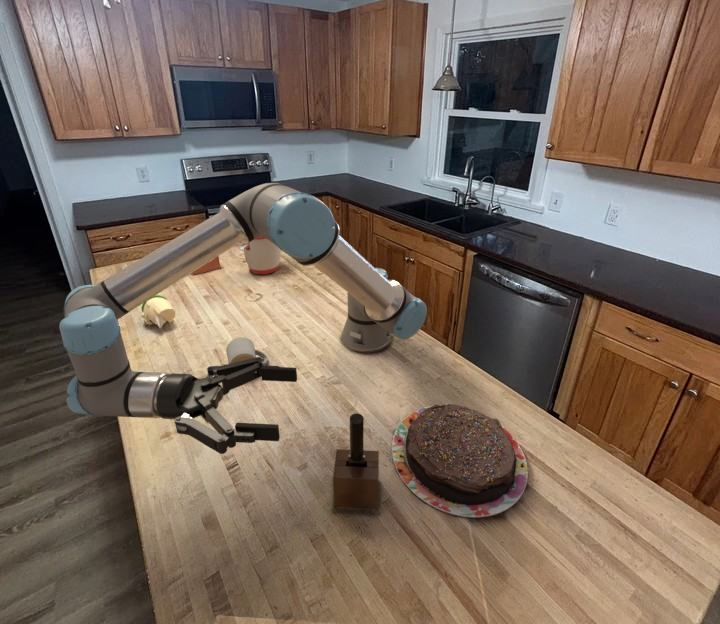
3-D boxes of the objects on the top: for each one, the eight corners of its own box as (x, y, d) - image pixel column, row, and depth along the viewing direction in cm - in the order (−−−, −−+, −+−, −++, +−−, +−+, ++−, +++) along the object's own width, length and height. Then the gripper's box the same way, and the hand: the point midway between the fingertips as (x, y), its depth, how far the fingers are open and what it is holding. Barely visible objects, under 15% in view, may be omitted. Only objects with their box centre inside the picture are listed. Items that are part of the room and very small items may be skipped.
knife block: (334, 510, 72) (332, 477, 68) (337, 481, 77) (336, 448, 73) (377, 513, 71) (378, 479, 68) (377, 483, 77) (378, 450, 73)
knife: (348, 498, 73) (347, 423, 65) (349, 486, 75) (348, 412, 67) (364, 499, 73) (365, 424, 65) (364, 487, 75) (365, 413, 67)
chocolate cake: (388, 406, 96) (389, 385, 93) (503, 409, 95) (507, 388, 92) (394, 519, 70) (395, 495, 67) (550, 525, 69) (558, 501, 67)
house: (193, 275, 163) (188, 249, 158) (180, 260, 177) (175, 236, 172) (221, 268, 170) (217, 243, 165) (206, 254, 184) (202, 230, 179)
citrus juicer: (235, 270, 168) (229, 225, 160) (270, 259, 179) (266, 217, 170) (253, 281, 158) (247, 235, 149) (289, 269, 168) (286, 225, 160)
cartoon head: (164, 341, 124) (145, 315, 138) (187, 320, 127) (166, 296, 140) (143, 327, 118) (126, 301, 132) (168, 305, 121) (148, 281, 134)
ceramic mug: (231, 379, 104) (227, 356, 101) (227, 361, 111) (224, 339, 108) (270, 370, 108) (268, 347, 105) (265, 353, 115) (263, 331, 112)
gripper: (200, 366, 80) (303, 371, 79) (128, 475, 57) (270, 483, 56) (194, 336, 77) (301, 340, 76) (115, 438, 54) (266, 445, 53)
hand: (288, 401), depth 66 cm, fingers open, 13 cm apart
